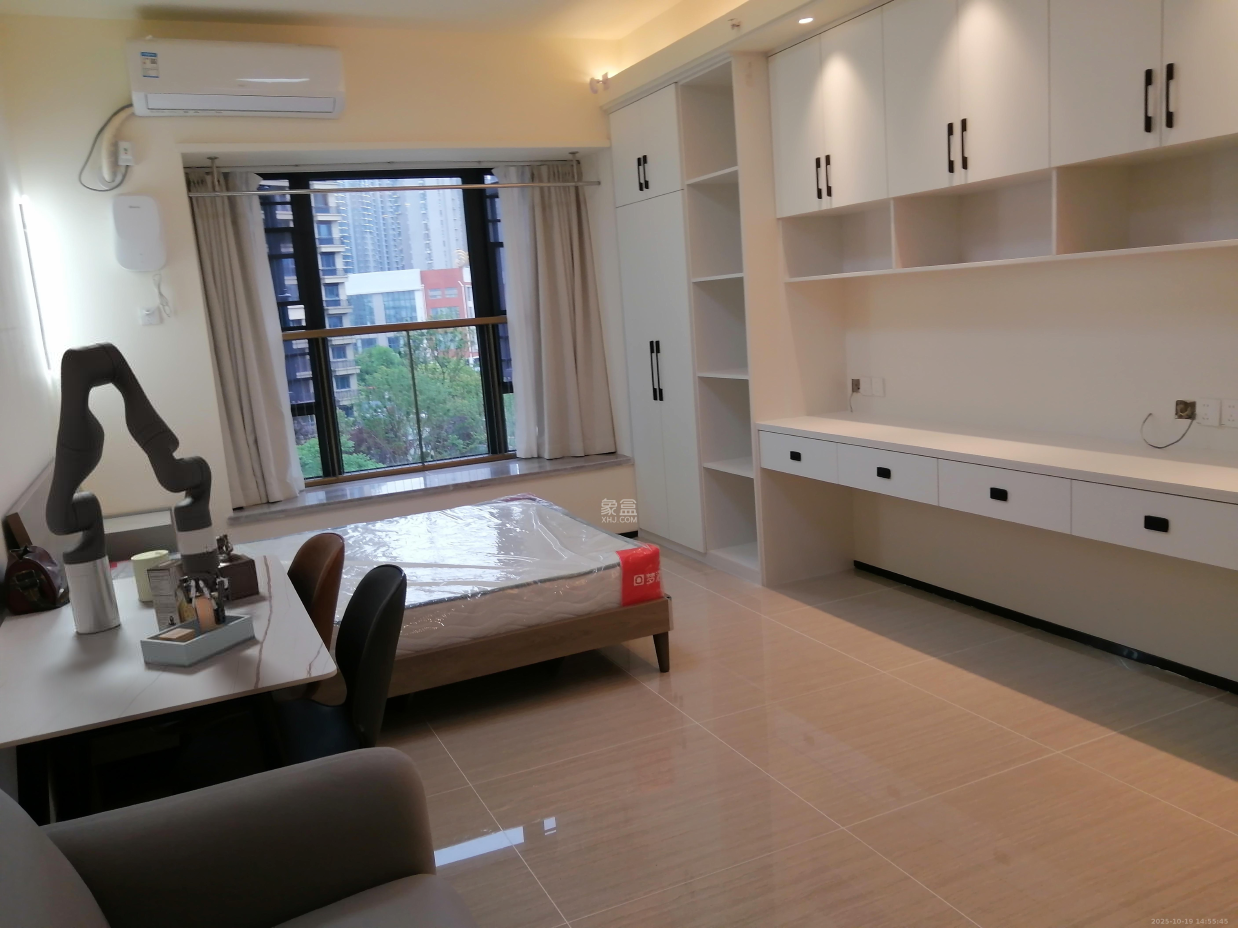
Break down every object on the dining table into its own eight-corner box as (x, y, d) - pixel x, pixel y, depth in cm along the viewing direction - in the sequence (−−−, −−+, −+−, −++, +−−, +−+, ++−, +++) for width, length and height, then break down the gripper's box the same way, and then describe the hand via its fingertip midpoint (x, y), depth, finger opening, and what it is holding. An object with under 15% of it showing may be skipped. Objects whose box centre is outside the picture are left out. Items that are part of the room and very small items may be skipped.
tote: (144, 662, 197) (139, 639, 196) (212, 633, 212) (208, 612, 212) (188, 667, 191) (183, 644, 190) (255, 637, 206) (251, 615, 206)
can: (165, 599, 246) (157, 555, 244) (131, 602, 246) (123, 559, 244) (182, 589, 255) (174, 546, 253) (149, 592, 255) (141, 550, 253)
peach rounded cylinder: (195, 629, 203) (189, 599, 202) (214, 622, 208) (208, 592, 207) (211, 631, 201) (205, 600, 200) (229, 623, 206) (224, 593, 204)
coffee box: (184, 621, 224) (172, 557, 221) (207, 621, 222) (196, 556, 220) (158, 635, 215) (145, 568, 212) (182, 634, 213) (170, 567, 211)
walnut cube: (162, 658, 196) (158, 636, 195) (182, 650, 201) (178, 628, 200) (178, 660, 194) (174, 638, 193) (198, 651, 198) (194, 629, 197)
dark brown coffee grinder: (206, 597, 244) (193, 531, 241) (249, 586, 250) (237, 521, 247) (222, 609, 231) (210, 539, 228) (267, 597, 238) (255, 529, 235)
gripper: (161, 552, 202) (175, 626, 204) (207, 553, 195) (221, 630, 198) (190, 542, 208) (204, 615, 211) (235, 544, 202) (249, 618, 204)
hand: (212, 622), depth 204 cm, fingers closed on peach rounded cylinder, 5 cm apart
